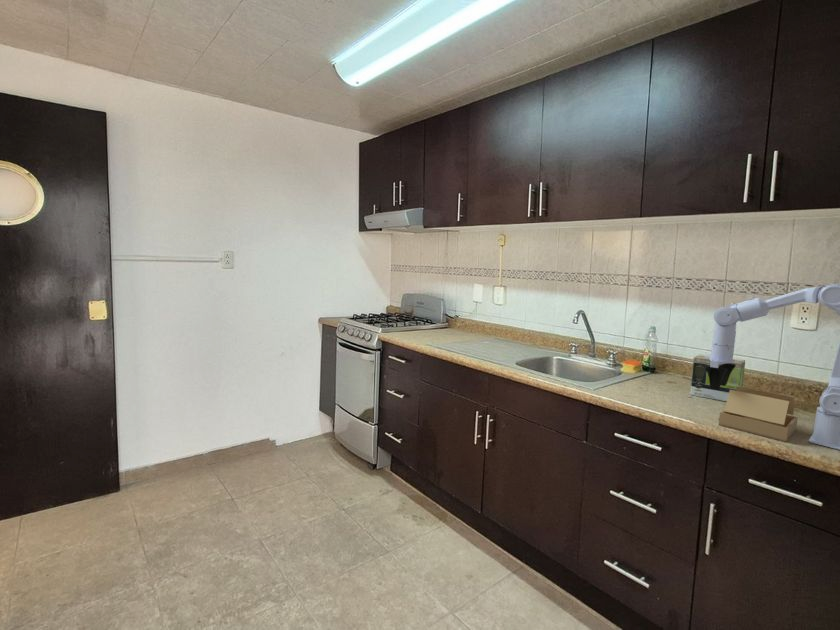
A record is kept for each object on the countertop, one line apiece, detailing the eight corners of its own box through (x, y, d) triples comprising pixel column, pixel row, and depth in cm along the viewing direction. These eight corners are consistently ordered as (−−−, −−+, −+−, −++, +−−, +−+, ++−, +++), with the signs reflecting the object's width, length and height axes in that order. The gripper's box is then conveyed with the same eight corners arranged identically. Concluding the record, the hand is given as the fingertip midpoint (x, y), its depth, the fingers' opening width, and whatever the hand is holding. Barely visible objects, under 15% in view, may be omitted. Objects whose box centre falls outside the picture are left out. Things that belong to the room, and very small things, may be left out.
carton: (795, 430, 131) (797, 417, 131) (786, 442, 121) (787, 428, 121) (732, 415, 143) (733, 403, 143) (718, 425, 133) (720, 412, 133)
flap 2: (793, 415, 131) (793, 414, 131) (793, 397, 128) (794, 396, 128) (737, 402, 142) (737, 402, 142) (736, 386, 138) (736, 385, 139)
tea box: (741, 398, 163) (746, 359, 161) (738, 404, 155) (743, 363, 153) (694, 390, 172) (698, 353, 171) (689, 395, 165) (693, 356, 163)
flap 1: (789, 401, 123) (789, 401, 123) (783, 425, 122) (783, 424, 122) (730, 389, 134) (729, 389, 134) (724, 411, 132) (724, 411, 132)
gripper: (715, 340, 145) (710, 380, 147) (701, 344, 136) (696, 387, 137) (741, 344, 140) (735, 385, 142) (728, 348, 131) (722, 393, 132)
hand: (718, 387), depth 139 cm, fingers open, 7 cm apart
